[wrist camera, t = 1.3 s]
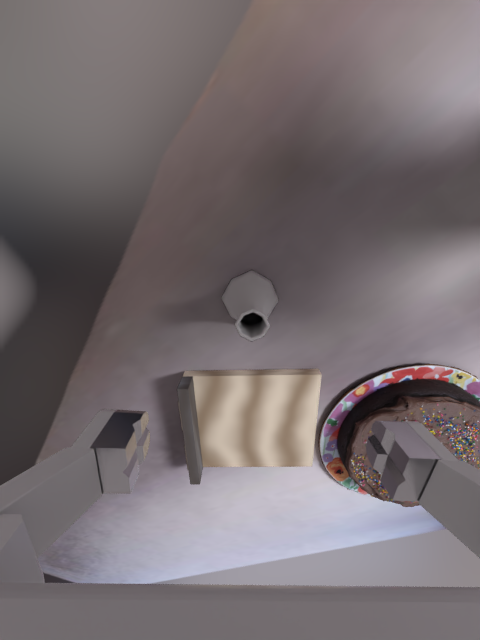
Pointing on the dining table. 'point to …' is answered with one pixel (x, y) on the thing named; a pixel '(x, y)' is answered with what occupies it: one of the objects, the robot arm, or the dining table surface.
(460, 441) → the chocolate cake
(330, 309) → the dining table surface
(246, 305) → the flask
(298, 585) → the robot arm
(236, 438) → the shelf board
